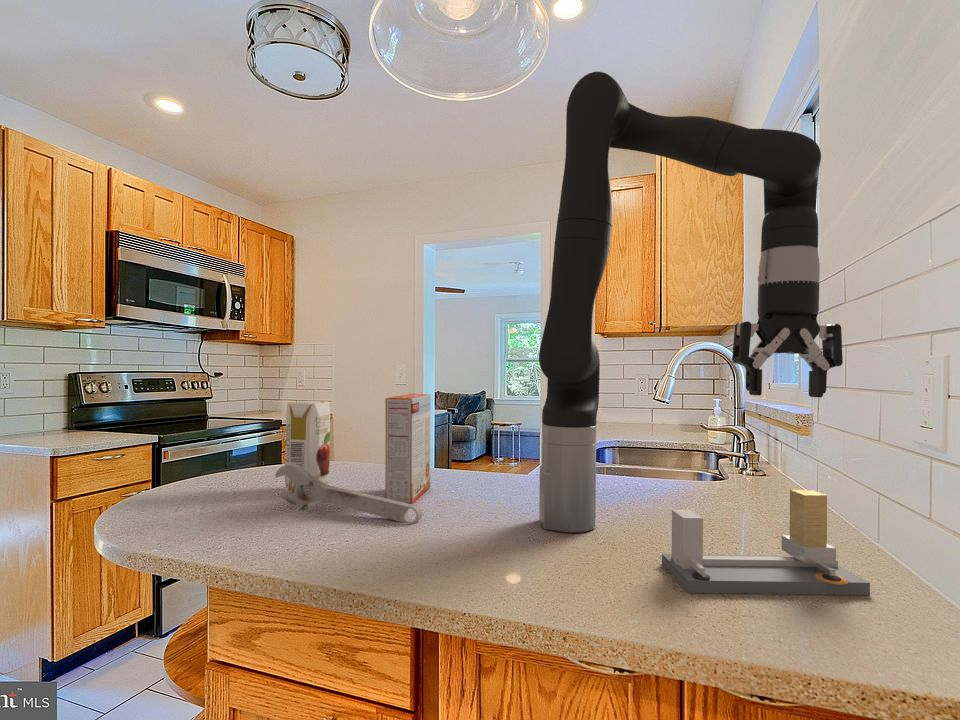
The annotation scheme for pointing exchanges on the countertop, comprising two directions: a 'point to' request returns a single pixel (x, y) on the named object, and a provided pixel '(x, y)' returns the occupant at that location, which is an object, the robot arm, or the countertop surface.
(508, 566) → the countertop surface
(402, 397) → the cracker box
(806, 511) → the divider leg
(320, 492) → the wrench
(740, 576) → the bolt plate
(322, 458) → the juice carton
